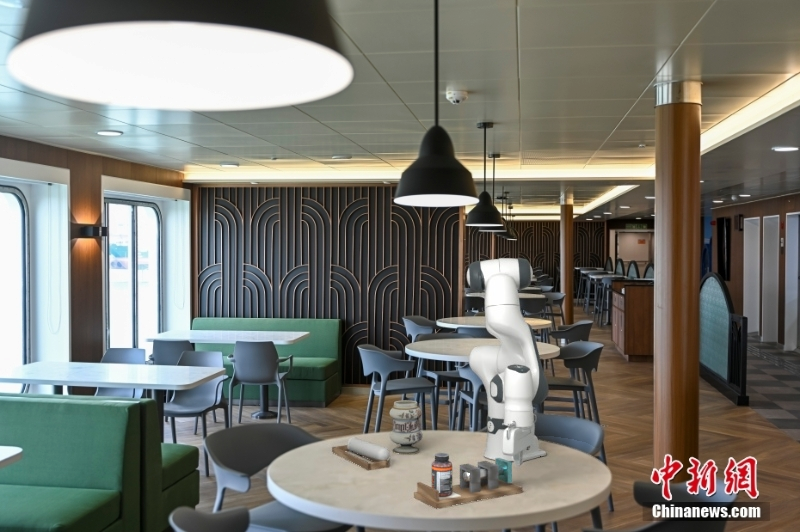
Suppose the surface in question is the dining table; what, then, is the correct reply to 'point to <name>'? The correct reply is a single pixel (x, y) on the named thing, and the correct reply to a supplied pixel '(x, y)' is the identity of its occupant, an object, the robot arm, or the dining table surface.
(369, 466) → the tube cradle
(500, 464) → the shaft
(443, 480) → the supplement bottle
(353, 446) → the tube
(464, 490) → the rail
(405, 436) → the apothecary jar
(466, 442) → the dining table surface
